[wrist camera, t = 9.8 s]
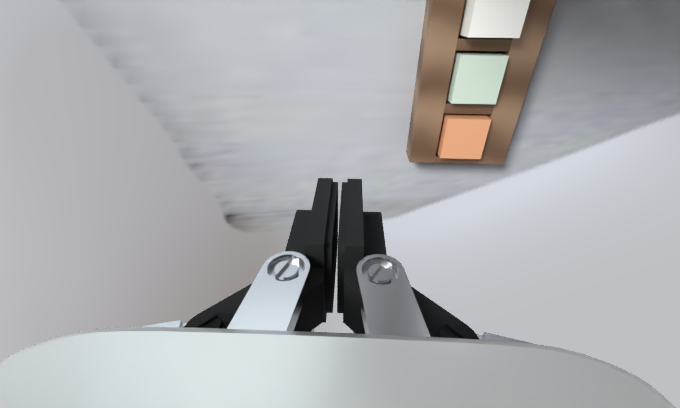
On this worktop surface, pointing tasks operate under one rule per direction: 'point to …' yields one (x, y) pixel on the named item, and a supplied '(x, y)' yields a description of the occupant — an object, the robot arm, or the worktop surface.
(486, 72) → the sage key
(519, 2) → the ivory key
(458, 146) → the terracotta key
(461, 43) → the key panel
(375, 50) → the worktop surface
